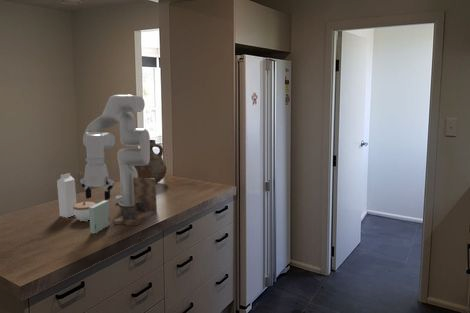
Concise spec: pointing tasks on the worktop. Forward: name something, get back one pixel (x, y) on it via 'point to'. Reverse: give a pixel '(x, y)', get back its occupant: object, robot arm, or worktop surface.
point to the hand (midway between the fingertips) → (98, 198)
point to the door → (99, 216)
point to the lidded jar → (82, 210)
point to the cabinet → (140, 202)
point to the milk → (66, 195)
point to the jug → (153, 165)
